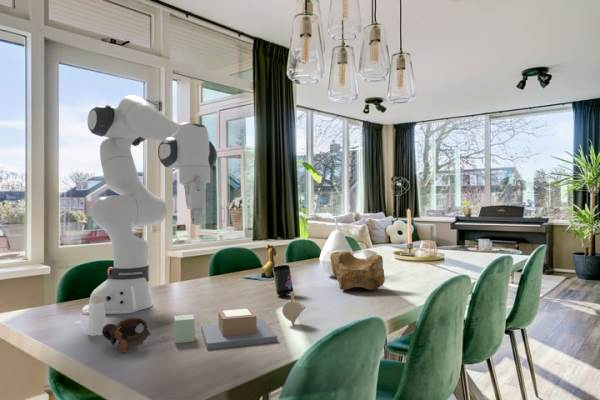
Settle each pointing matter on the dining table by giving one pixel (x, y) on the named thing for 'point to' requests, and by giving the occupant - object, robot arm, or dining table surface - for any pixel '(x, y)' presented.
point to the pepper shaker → (96, 316)
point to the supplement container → (283, 280)
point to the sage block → (184, 328)
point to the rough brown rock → (357, 271)
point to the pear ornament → (334, 248)
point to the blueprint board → (236, 339)
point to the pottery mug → (126, 333)
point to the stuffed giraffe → (266, 267)
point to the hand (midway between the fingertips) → (196, 224)
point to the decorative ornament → (292, 309)
